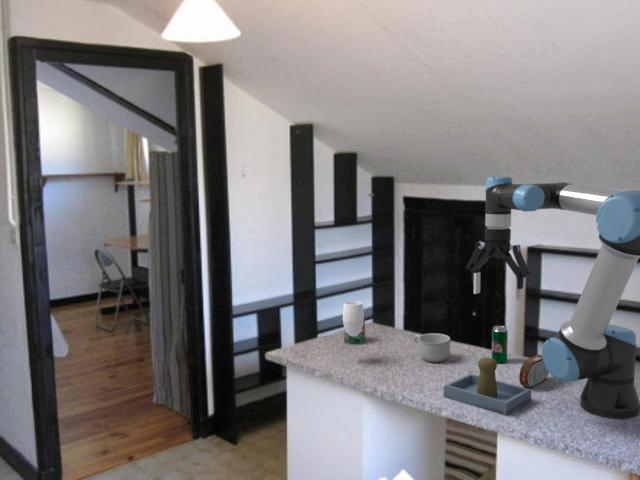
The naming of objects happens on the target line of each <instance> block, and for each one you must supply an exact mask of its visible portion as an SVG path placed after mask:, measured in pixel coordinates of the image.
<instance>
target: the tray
mask: <svg viewBox="0 0 640 480" xmlns="http://www.w3.org/2000/svg"><path fill="white" fill-rule="evenodd" d="M478 380H479V375H477V374H473V373H469V374H466V375H464V376H462V377H460V378H458V379H455V380H453V381H450V382H449V383H446V384H444V385H443V397H444V398H446V399H450V400H451V401H452V400H453V401H457V402H460V403H462V404H465V405H470V406H472V407H476V408H480V409H482V410H486V411H489V412H493V413H496V414H500V415H503V416H507V415H510V414H511V413H513V412H514V411H515V412H516V411H517V410H518V409H521V408H522V407H524V406H525V405H528V404H529V403H531V402H532V389H531V388H528V387H525V386H521V385H520V386H519V385H515V384H512V383H508V382H504V381H499V380H497V379H496V385H497V394H498V397H497V398H496V399H495V398H492V397H488V396H485V395H481V394H478V393H477V386H478Z"/></svg>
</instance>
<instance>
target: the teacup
mask: <svg viewBox="0 0 640 480" xmlns="http://www.w3.org/2000/svg"><path fill="white" fill-rule="evenodd" d="M417 338H418V339H417ZM417 340H418V341H417ZM412 341H413V343H414V345H415V347H417V348H418V351H419V353H418V354H419V355H420V357H421V358H423V359H424V361H426V362H429V363H441V362H444V361H445V360H446V359H447V358H448V357H449V356H450V352H451V350H450V349H451V337H450V336H449V335H447V334H443V333H437V332H436V333H435V332H433V333H432V332H431V333H425V334H415V335H414V336H413V338H412Z"/></svg>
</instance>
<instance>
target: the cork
mask: <svg viewBox="0 0 640 480" xmlns="http://www.w3.org/2000/svg"><path fill="white" fill-rule="evenodd" d="M477 366H478V369H479V373H478V374H479V375H478V376H479V380H478V386H477V393H478V394H481V395H485V396H488V397H492V398H495V399H496V398H497V397H498V394H497V385H496V380H497V379H496V370H497V367H498V363H497V362H496V361H495V360H494V359H492V357H481V358H480V359H479V360H478V364H477Z"/></svg>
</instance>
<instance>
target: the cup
mask: <svg viewBox="0 0 640 480" xmlns="http://www.w3.org/2000/svg"><path fill="white" fill-rule="evenodd" d="M342 308H343V309H342V322H343V329H344V328H345V331H346V333H348V334H349V335H350V336H352V337H355V336H357V335H358V334H359V333H361V331H362V327H363V322H364V314H365V312H364V306H363V302H362V301H357V300H350V301H344V303H343V307H342Z"/></svg>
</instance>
